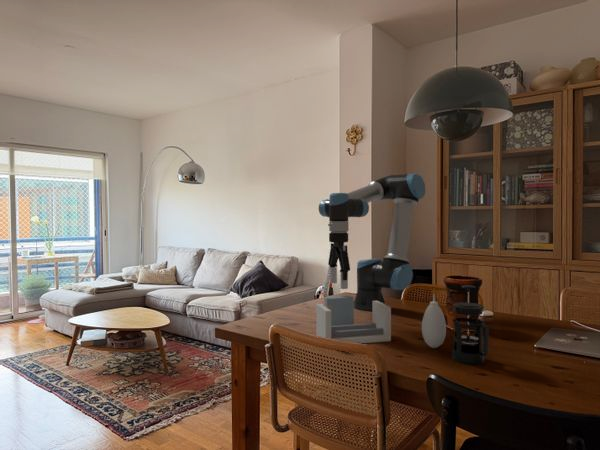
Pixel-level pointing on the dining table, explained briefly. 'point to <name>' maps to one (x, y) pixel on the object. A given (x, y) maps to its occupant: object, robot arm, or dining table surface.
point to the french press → (468, 351)
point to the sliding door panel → (340, 309)
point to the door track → (376, 317)
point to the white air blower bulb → (434, 325)
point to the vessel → (460, 296)
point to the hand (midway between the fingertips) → (338, 285)
